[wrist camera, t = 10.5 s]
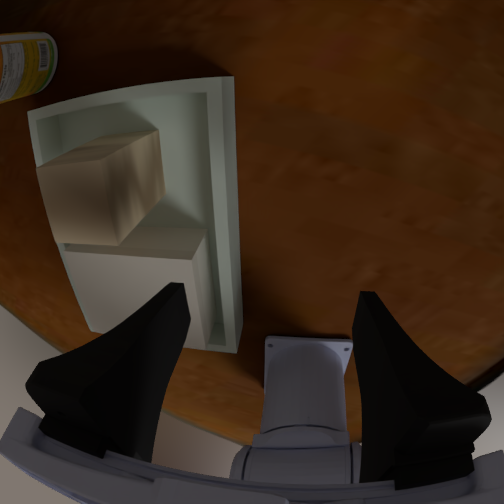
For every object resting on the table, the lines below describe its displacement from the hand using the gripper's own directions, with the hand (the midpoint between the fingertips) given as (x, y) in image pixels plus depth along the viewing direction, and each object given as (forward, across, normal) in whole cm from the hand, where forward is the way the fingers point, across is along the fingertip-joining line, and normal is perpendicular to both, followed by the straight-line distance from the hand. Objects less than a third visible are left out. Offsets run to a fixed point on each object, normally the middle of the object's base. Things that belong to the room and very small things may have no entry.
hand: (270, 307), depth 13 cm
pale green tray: (+10, +10, +1) cm, 14 cm away
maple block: (+9, +10, -4) cm, 14 cm away
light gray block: (+9, +10, +5) cm, 15 cm away
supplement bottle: (+10, +19, -13) cm, 25 cm away
